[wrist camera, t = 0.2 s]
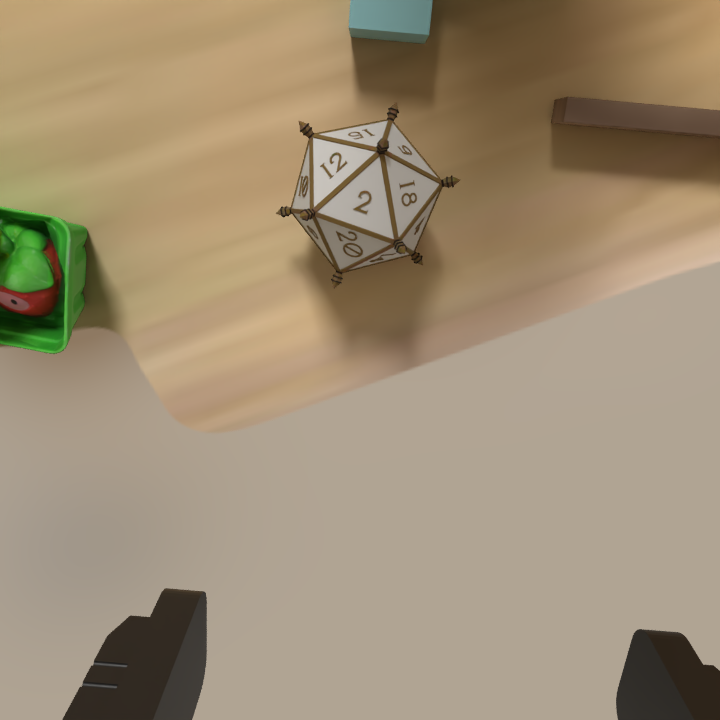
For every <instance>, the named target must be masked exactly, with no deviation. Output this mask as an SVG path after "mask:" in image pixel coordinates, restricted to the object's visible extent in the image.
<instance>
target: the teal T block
mask: <svg viewBox="0 0 720 720" xmlns="http://www.w3.org/2000/svg"><path fill="white" fill-rule="evenodd" d="M432 2H433V0H351V2H350V16H349V31H350V35H351V37H356V38H367V39H378V40H389V41H400V42H411V43H422V44H425V42H426V40H427V38H428V36H429V30H430V21H431V11H432Z"/></svg>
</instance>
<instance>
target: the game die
mask: <svg viewBox="0 0 720 720" xmlns="http://www.w3.org/2000/svg"><path fill="white" fill-rule="evenodd" d="M388 110H389V112H388V113H387V114H388V118H387V120H382V121H376V122H371V123H366V124H361V125H356V126H350V127H345V128H340V129H335V130H330V131H325V132H319V133H313V131H312V127H310V126H309V123H308V124H306V123H304V122H301V121H299V125H300V132H302V133H303V135H306V136H307V137H308V138H309V141H308V145H307V148H306V152H305V156H304V160H303V164H302V167H301V171H300V175H299V179H298V182H297V186H296V190H295V194H294V198H293V201H292V205H291V207H290V208H289V207H287V206H286V207H281V209H280V210H279V211H278V212H277V213H276V214H279V215H281V216H282V217H285V216H289V215H290V214H293V215H294V217H295V218H296V219H297V221H298V222H299V223H300V225H301V226H302V227H303V228H304V230H305V231H306V232H307V234H308V235H309V236H310V237H311V239H312V240H313V241H314V243H315V244H316V245H317V246H318V248H319V249H320V250H321V252H322V253H323V254H324V255H325V257H326V258H327V259H328V261H329V262H330V263H331V264H332V266H333V267H334V268H335V270H336V273H335V275H333V279H331V280H332V282H333V287H334V288H335V287H336V286H338V285H339V284H340V283H341V279H343V278H342V273H344V272H348V271H352V270H356V269H360V268H363V267H367V266H371V265H375V264H379V263H383V262H387V261H391V260H395V259H398V258H402V257H406V256H410V255H411V257H412V260H414V263H416V264H417V263H418V264H421V265H423V263H422V256H420V255H419V254H420V253H417V252H415V250H416V248H417V245H418V243H419V241H420V238H421V236H422V234H423V231H424V229H425V227H426V224H427V222H428V220H429V217H430V215H431V213H432V210H433V208H434V206H435V203H436V201H437V199H438V196H439V194H440V191H441V189H442V187H444V186H445V187H448V188H449V187H451V186H452V187H454V185H455V184H456V183H458V182H459V181H460V180H459V179H457V178H454V177H452V176H451V177H446V178H445V179H443V180H441V179H440V178H439V176H438V175H437V174H436V173H435V172H434V170H433V169H432V168H431V167H430V165H429V164H428V163H427V162H426V161H425V159H424V158H423V157H422V156H421V154H420V153H419V152H418V151H417V150H416V148H415V147H414V146H413V145H412V144H411V142H410V141H409V140H408V139H407V137H406V136H405V135H404V134H403V133H402V131H401V130H400V129H399V128H398V126H397V125H396V124H395V123H394V119H395V118H397V113H399V111H398V109H397V103H395V104H394V105H393V106H392V107H391V108H388Z"/></svg>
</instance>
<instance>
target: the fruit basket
mask: <svg viewBox="0 0 720 720" xmlns="http://www.w3.org/2000/svg"><path fill="white" fill-rule="evenodd" d="M86 239H87V229H86V228H85V227H84V226H81V225H77V224H72V223H68V222H66V221H64V220H62V219H60V218H57V217H54V216H49V215H43V214H37V213H32V212H26V211H21V210H16V209H10V208H5V207H0V344H4V345H9V346H14V347H20V348H25V349H30V350H35V351H40V352H44V353H53V354H55V353H59V352H61V351H63V350H64V349H65V347H66V346H67V344H68V341H69V339H70V336H71V333H72V328H73V326H74V325H75V323H76V321H77V319H78V317H79V315H80V313H81V312H82V310H83V308H84V305H85V300H84V296H83V293H82V291H83V288H84V286H85V279H86V251H85V247H84V246H83V245H84V244H85V241H86Z"/></svg>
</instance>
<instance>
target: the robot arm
mask: <svg viewBox="0 0 720 720" xmlns="http://www.w3.org/2000/svg"><path fill="white" fill-rule="evenodd" d="M206 604H207V601H206V593H205V592H203V591H190V590H178V589H167V588H166V589H164V590H163V591H162V593H161V595H160V597H159V599H158V601H157V603H156V606H155V608H154V610H153V612H152V614H151V616H150V617H141V616H129V617H128V618H127V619H126V620H125V621H124V622H123V623H121V625H119V626H118V627H117V628H116V629H115V630H114V631H112V632H111V633H110V634H109V635H108V636H107V638H106V640H105V642H104V644H103V645H102V647H101V649H100V651H99V653H98V654H97V656H96V658H95V660H94V665H93V666H91V668H90V669H89V671H88V673H87V675H86V677H85V679H84V681H83V686H82V687H80V688H79V690H78V692H77V694H76V695H75V697H74V699H73V701H72V703H71V705H70V707H69V708H68V710H67V712H66V714H65V716H64V718H63V720H192V718H193V715H194V712H195V709H196V705H197V702H198V699H199V696H200V692H201V689H202V685H203V679H204V674H205V667H206V652H207V650H206V647H207V646H206V645H207V644H206V641H207V638H206V637H207V631H206V630H207V629H206V628H207V627H206V626H207V625H206V621H207V618H206V616H207V615H206V614H207V607H206ZM616 706H617V707H616V708H617V716H618V720H720V671H719V670H718V669H717V668H716V667H714V666H713V665H703V664H702V662H701V661H700V659H699V657H698V656H697V654H696V652H695V651H694V649H693V648H692V646H691V644H690V643H689V641H688V640H687V638H686V637H685V636H684V635H683V634H681V633H678V632H666V631H654V630H642V629H639V630H637V631H636V632H635V633H634V635H633V638H632V641H631V644H630V648H629V651H628V655H627V659H626V662H625V666H624V669H623V673H622V676H621V680H620V683H619V687H618V691H617V698H616Z"/></svg>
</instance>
